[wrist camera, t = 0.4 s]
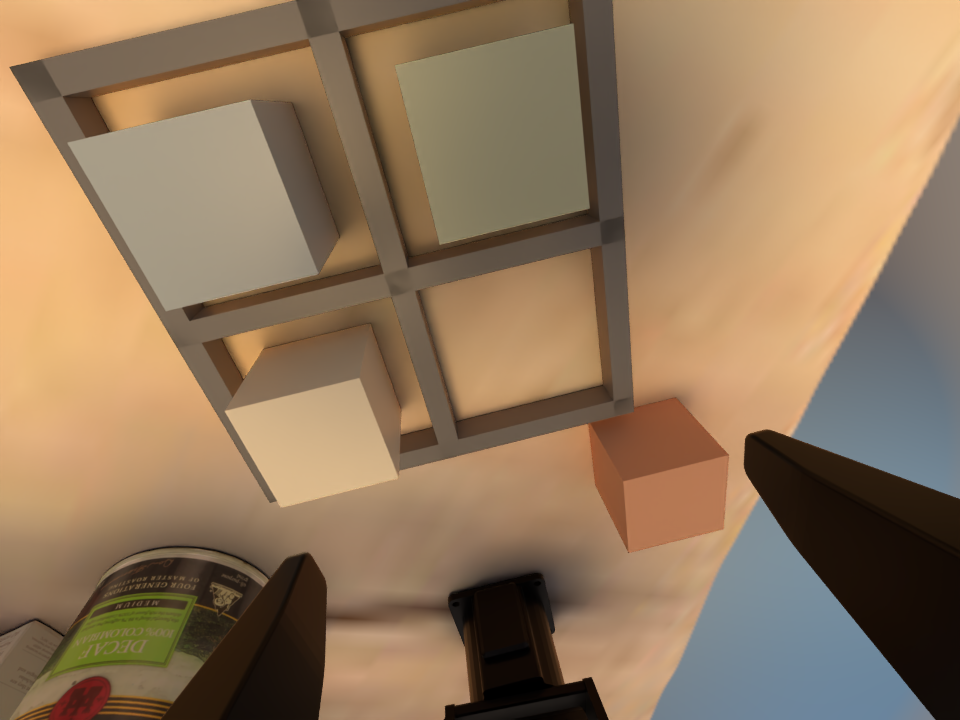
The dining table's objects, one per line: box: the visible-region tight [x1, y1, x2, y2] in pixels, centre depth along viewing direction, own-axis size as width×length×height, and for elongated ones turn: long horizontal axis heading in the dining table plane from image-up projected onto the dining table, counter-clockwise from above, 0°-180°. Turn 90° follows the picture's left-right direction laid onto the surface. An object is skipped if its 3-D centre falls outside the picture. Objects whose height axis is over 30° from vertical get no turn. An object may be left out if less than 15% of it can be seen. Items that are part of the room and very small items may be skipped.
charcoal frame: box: [10, 0, 634, 508], centre depth 18 cm, size 19×19×5 cm
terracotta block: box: [588, 398, 729, 553], centre depth 25 cm, size 5×5×5 cm
